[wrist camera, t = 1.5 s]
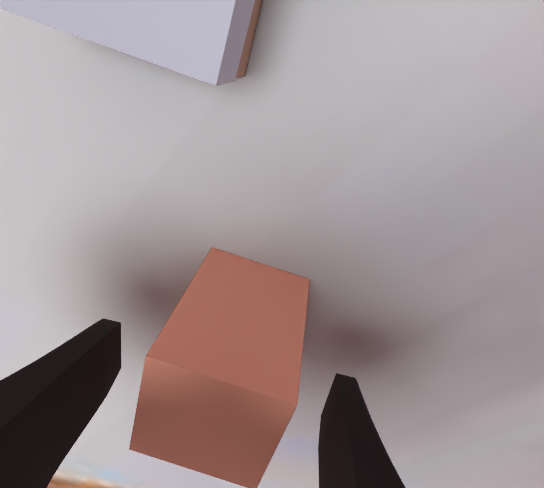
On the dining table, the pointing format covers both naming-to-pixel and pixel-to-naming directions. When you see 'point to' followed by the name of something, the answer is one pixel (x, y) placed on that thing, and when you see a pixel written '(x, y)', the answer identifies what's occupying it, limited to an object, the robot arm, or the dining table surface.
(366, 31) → the dining table surface
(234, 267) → the brick block
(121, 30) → the tower upper
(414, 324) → the dining table surface
